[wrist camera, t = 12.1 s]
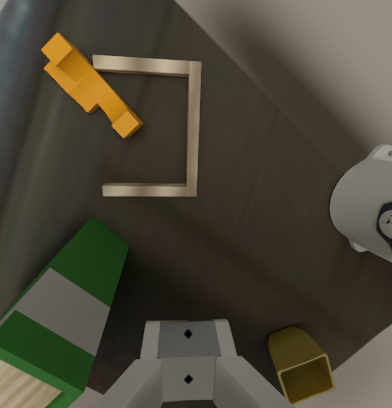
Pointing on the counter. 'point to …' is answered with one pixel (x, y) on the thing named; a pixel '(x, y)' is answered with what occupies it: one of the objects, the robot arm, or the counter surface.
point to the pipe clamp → (88, 85)
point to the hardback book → (60, 321)
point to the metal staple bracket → (194, 84)
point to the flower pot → (300, 364)
